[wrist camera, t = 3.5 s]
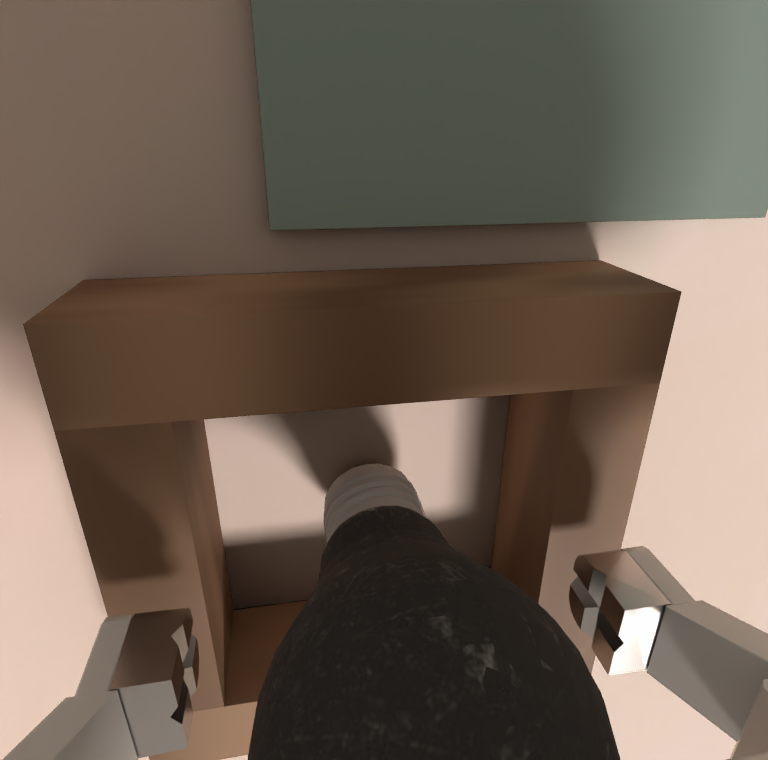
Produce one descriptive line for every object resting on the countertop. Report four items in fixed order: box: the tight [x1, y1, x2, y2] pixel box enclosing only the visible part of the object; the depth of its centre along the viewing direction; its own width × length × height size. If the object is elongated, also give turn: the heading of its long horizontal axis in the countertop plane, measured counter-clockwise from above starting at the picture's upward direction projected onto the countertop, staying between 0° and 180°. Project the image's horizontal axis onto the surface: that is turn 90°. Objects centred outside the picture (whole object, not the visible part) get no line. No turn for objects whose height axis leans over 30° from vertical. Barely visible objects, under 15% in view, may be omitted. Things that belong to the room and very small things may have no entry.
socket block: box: [23, 260, 681, 760], centre depth 14 cm, size 12×12×3 cm
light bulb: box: [248, 464, 620, 760], centre depth 10 cm, size 6×6×10 cm
